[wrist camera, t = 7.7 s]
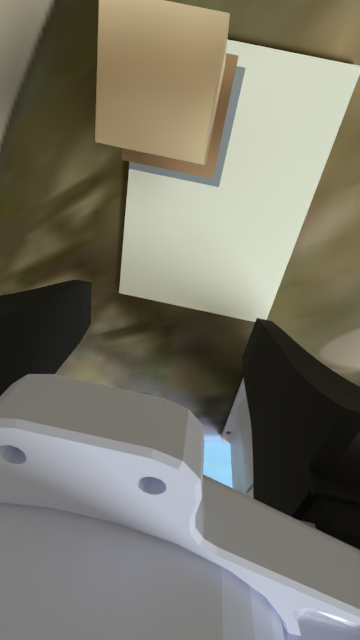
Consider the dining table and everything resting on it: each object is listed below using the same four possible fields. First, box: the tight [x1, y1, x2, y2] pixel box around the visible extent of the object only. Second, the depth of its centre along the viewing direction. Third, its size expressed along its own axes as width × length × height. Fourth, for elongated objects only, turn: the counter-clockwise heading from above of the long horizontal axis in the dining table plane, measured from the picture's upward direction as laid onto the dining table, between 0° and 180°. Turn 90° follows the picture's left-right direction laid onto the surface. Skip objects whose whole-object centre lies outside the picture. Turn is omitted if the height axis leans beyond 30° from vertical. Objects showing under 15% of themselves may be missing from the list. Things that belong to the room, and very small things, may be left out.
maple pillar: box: [95, 0, 230, 165], centre depth 12 cm, size 4×4×5 cm
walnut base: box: [121, 53, 239, 179], centre depth 15 cm, size 5×5×4 cm
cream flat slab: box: [119, 39, 360, 322], centre depth 19 cm, size 16×12×1 cm
